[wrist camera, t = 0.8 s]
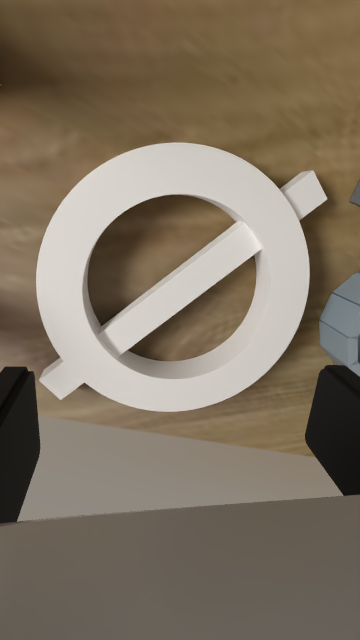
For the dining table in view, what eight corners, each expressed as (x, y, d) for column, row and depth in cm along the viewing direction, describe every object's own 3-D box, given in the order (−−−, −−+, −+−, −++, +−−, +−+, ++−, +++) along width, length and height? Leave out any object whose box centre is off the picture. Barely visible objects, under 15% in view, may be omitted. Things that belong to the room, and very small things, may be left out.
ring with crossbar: (44, 383, 41) (34, 405, 36) (50, 124, 32) (38, 113, 28) (260, 395, 46) (274, 416, 42) (317, 175, 37) (342, 172, 33)
